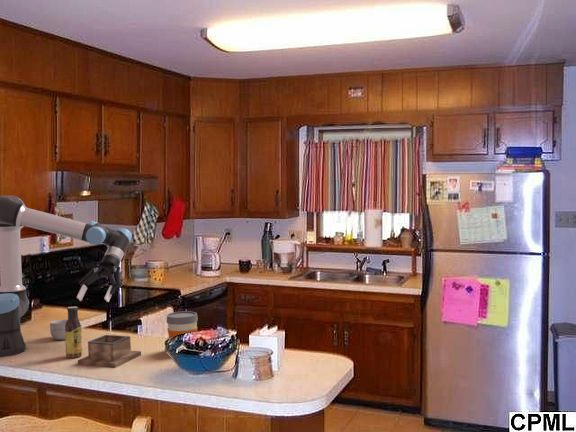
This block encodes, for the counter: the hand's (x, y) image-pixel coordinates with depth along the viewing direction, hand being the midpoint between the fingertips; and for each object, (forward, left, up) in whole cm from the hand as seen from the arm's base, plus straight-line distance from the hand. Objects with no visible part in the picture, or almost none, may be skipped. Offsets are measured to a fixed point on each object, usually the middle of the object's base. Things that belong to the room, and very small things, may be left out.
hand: (92, 299), depth 259 cm
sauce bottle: (0, -12, -21) cm, 24 cm away
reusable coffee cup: (+39, +6, -21) cm, 44 cm away
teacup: (-23, +11, -21) cm, 33 cm away
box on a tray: (+17, -12, -21) cm, 29 cm away
